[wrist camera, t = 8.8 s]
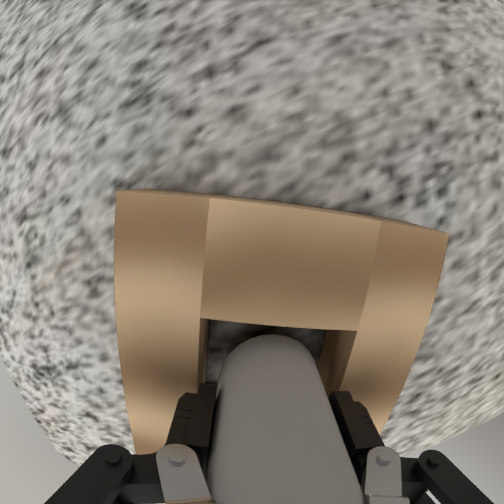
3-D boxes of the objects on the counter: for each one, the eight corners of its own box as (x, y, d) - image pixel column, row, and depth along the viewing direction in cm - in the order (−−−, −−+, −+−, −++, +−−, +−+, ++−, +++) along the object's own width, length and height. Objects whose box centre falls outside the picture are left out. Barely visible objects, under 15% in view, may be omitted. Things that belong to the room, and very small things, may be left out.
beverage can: (218, 400, 15) (195, 612, 3) (222, 324, 14) (182, 602, 2) (305, 405, 15) (351, 603, 3) (323, 331, 14) (431, 568, 2)
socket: (149, 189, 14) (116, 190, 10) (407, 222, 15) (449, 234, 11) (152, 423, 18) (138, 463, 14) (342, 436, 18) (355, 475, 14)
